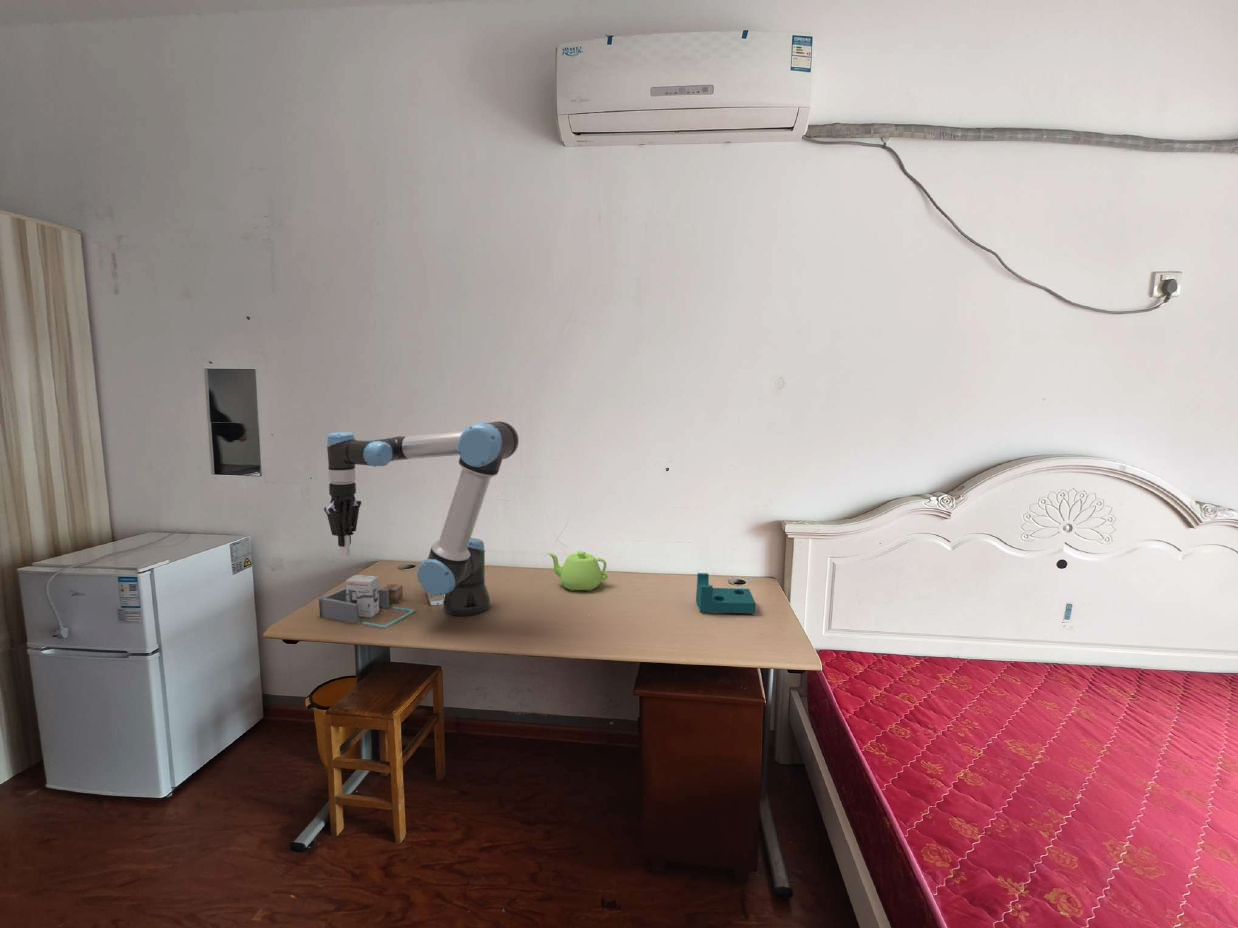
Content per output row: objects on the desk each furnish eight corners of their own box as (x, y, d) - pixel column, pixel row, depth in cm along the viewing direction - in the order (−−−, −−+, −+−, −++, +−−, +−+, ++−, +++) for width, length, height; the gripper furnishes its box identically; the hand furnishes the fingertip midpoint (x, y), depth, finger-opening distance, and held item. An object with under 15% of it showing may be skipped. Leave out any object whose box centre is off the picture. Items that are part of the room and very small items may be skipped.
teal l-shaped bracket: (699, 616, 187) (701, 586, 185) (695, 600, 198) (697, 572, 195) (754, 617, 187) (757, 588, 185) (747, 602, 198) (750, 574, 195)
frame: (415, 611, 184) (415, 610, 184) (384, 628, 171) (384, 627, 171) (394, 607, 186) (394, 606, 186) (362, 624, 173) (362, 622, 173)
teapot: (545, 593, 202) (545, 557, 200) (549, 579, 217) (549, 545, 215) (607, 594, 203) (608, 558, 201) (607, 579, 218) (608, 546, 216)
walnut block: (402, 598, 194) (402, 584, 194) (396, 604, 190) (395, 589, 189) (388, 597, 195) (388, 583, 194) (381, 603, 190) (380, 589, 189)
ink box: (345, 615, 179) (344, 579, 177) (354, 609, 184) (352, 574, 182) (372, 617, 178) (370, 581, 177) (380, 611, 183) (378, 575, 182)
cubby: (389, 607, 187) (388, 589, 186) (355, 624, 173) (355, 605, 172) (355, 600, 191) (354, 583, 190) (319, 616, 178) (318, 598, 177)
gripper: (349, 478, 185) (351, 548, 188) (315, 484, 172) (319, 559, 176) (367, 480, 182) (369, 551, 186) (335, 486, 170) (338, 562, 173)
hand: (345, 555), depth 181 cm, fingers closed
